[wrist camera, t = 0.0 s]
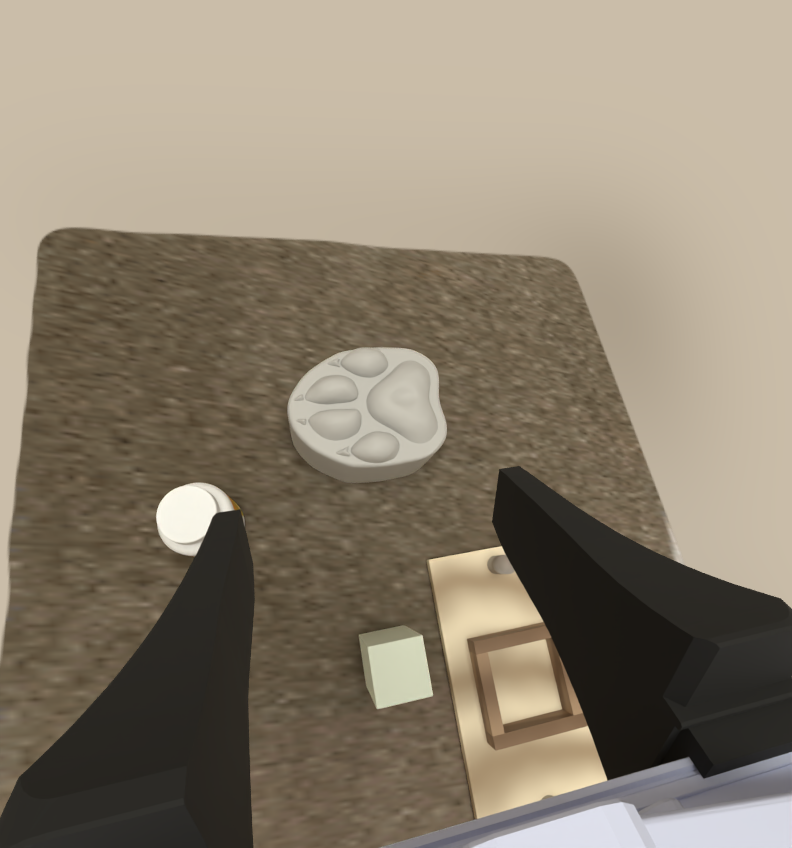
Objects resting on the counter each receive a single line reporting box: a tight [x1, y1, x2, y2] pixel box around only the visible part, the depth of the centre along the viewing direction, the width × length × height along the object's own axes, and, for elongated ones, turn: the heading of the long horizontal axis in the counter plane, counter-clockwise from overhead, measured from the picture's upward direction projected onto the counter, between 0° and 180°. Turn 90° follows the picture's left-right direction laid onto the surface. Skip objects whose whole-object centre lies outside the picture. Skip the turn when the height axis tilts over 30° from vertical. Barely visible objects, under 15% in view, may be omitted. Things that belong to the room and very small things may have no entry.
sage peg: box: [359, 625, 433, 709], centre depth 39 cm, size 4×4×8 cm
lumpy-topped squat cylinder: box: [287, 347, 447, 483], centre depth 44 cm, size 10×13×9 cm
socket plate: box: [426, 546, 607, 819], centre depth 42 cm, size 22×12×4 cm, turn 10°
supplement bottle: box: [156, 483, 245, 556], centre depth 39 cm, size 5×5×10 cm
